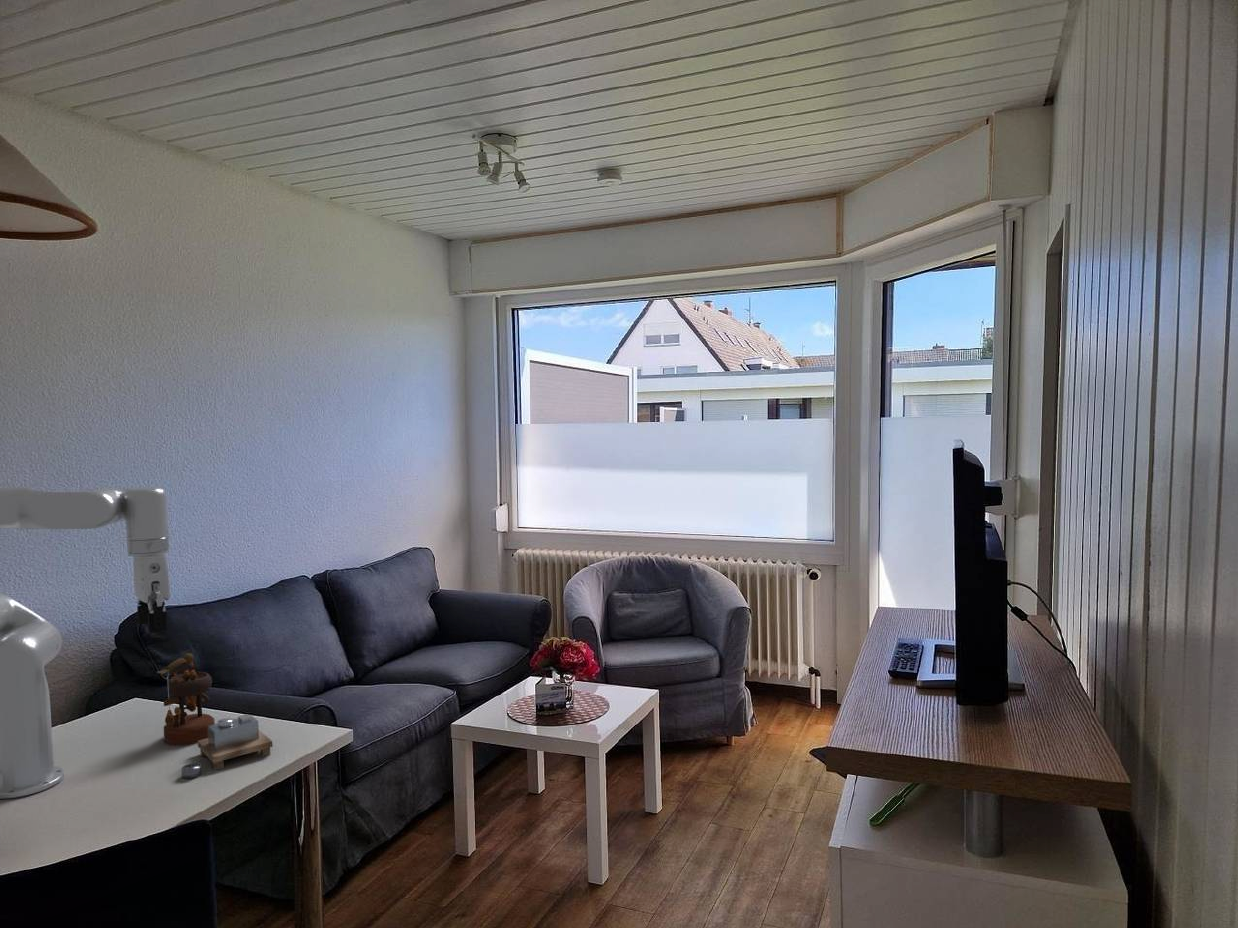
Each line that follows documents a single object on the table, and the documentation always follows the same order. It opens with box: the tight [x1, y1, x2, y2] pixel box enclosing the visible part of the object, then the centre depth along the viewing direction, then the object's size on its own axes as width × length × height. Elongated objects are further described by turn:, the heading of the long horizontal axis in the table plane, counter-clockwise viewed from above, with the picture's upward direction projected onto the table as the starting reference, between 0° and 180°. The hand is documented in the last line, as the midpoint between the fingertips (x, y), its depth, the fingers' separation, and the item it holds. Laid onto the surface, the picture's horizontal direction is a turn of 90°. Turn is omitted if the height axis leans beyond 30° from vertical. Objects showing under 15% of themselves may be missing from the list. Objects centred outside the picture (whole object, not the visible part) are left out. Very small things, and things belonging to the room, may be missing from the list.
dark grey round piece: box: [180, 762, 202, 781], centre depth 167 cm, size 4×4×2 cm
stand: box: [197, 730, 273, 771], centre depth 177 cm, size 12×12×3 cm
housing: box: [208, 713, 260, 750], centre depth 177 cm, size 5×9×5 cm, turn 132°
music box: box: [156, 653, 215, 746], centre depth 188 cm, size 15×11×20 cm
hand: (152, 627), depth 169 cm, fingers open, 9 cm apart
